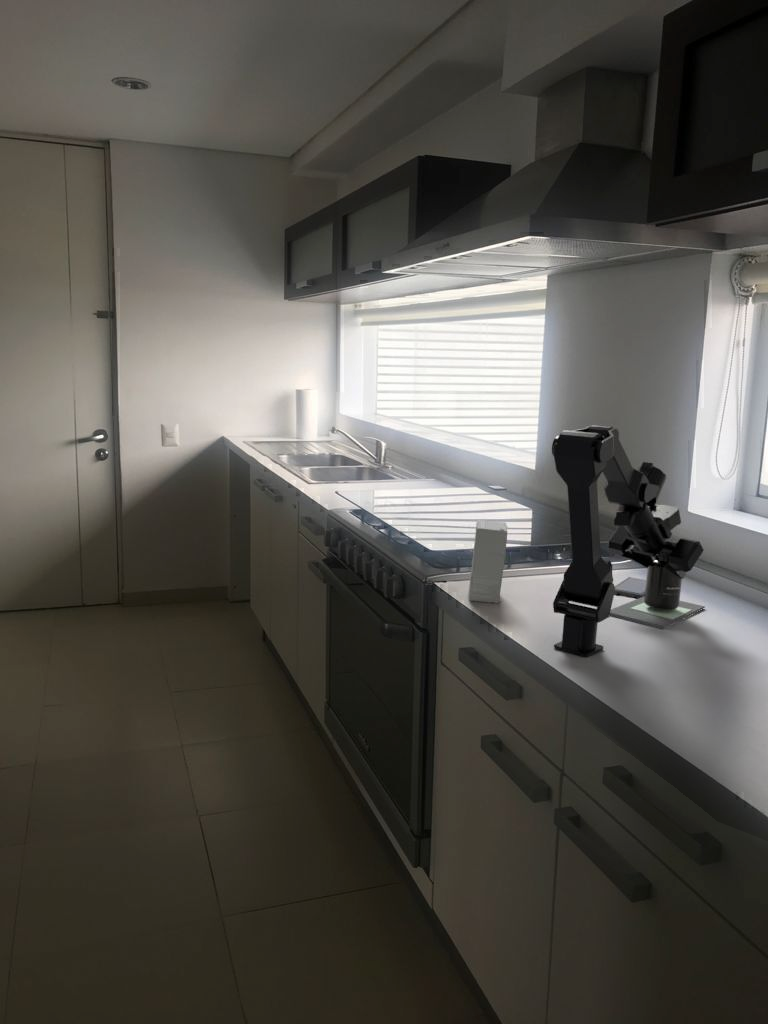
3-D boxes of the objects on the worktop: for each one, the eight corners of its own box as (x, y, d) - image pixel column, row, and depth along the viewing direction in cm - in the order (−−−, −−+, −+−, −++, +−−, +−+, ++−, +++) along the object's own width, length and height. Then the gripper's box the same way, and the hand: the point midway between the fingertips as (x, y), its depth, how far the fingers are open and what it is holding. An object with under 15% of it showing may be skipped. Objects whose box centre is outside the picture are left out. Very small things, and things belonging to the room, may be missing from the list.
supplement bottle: (672, 612, 169) (678, 553, 167) (638, 605, 173) (644, 547, 171) (683, 605, 175) (689, 548, 173) (650, 599, 179) (656, 542, 177)
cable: (654, 604, 181) (654, 601, 181) (614, 594, 187) (614, 591, 187) (669, 598, 186) (669, 594, 186) (630, 589, 192) (630, 585, 192)
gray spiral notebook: (662, 628, 164) (663, 624, 164) (605, 614, 172) (606, 609, 172) (704, 609, 179) (704, 604, 178) (650, 596, 187) (650, 592, 186)
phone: (641, 598, 184) (642, 594, 184) (609, 593, 188) (610, 589, 188) (659, 585, 196) (659, 581, 196) (628, 580, 200) (629, 576, 200)
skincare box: (468, 590, 185) (473, 518, 182) (501, 593, 184) (507, 520, 181) (468, 601, 177) (473, 526, 174) (503, 604, 176) (508, 528, 173)
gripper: (703, 500, 160) (729, 552, 169) (622, 485, 175) (649, 534, 184) (673, 545, 157) (701, 596, 166) (593, 526, 172) (623, 574, 180)
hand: (668, 573), depth 174 cm, fingers closed on supplement bottle, 7 cm apart
